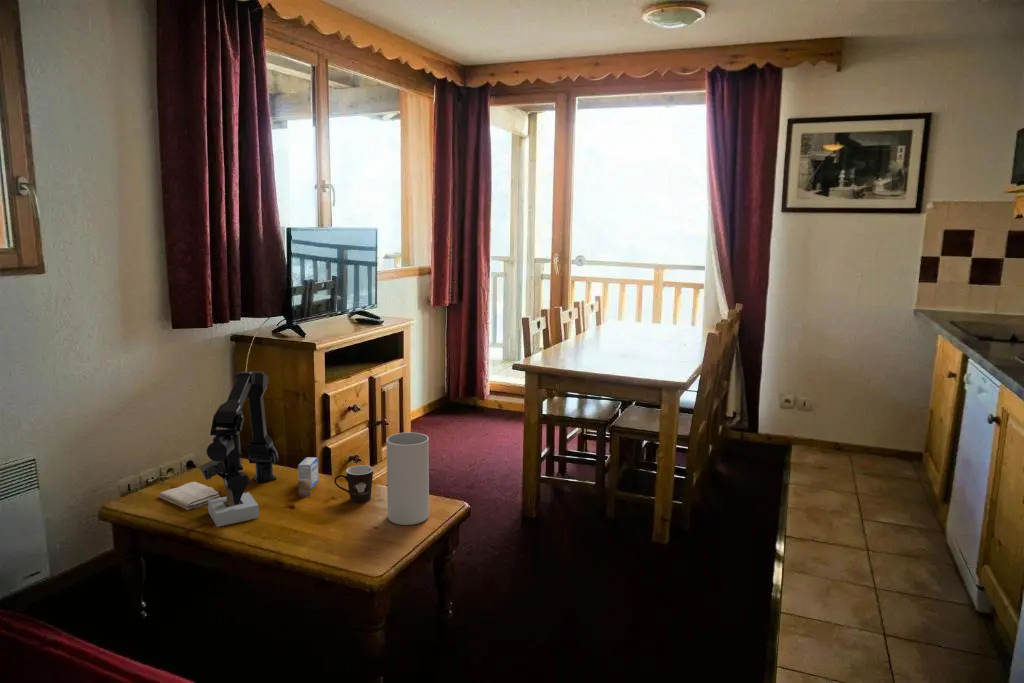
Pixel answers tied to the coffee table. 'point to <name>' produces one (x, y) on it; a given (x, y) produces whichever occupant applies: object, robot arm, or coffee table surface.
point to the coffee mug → (358, 483)
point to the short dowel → (304, 487)
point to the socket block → (233, 510)
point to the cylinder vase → (407, 478)
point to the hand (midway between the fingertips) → (232, 499)
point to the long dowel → (229, 498)
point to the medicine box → (309, 470)
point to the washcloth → (190, 495)
